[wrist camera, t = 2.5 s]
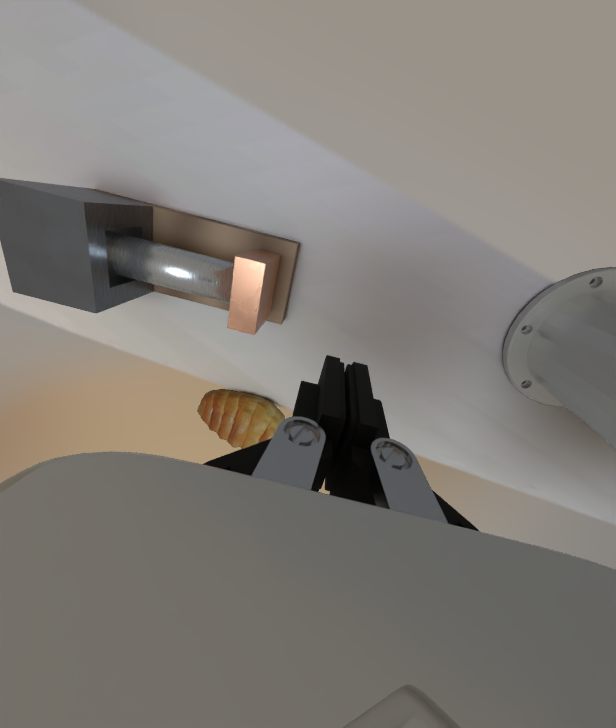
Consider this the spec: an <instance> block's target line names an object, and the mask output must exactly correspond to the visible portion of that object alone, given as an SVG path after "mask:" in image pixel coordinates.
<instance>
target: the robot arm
mask: <svg viewBox="0 0 616 728" xmlns="http://www.w3.org/2000/svg"><path fill="white" fill-rule="evenodd" d="M503 365H504V368H505V372H506V374H507V376H508V378H509V379H510V381H511V383H512V384H513V385H514V386H515V387H516V388H517V389H518V390H519V391H520V392H521V393H523V394H524V395H525V396H527V397H528V398H530V399H532V400H534V401H536V402H538V403H542V404H546V405H550V406H558V407H567V408H568V409H569V410H570V411H571V412H573V413H574V414H575V415H576V416H577V417H578V418H580V419H581V420H582V421H583V422H584V423H586V424H587V425H588V426H589V427H590V428H591V429H593V430H594V431H595V432H596V433H597V434H598V435H600V436H601V437H602V438H603V439H604V440H605V441H607V442H608V443H609V444H610V445H611V446H613V447H614V448H615V449H616V267H609V268H599V269H592V270H589V271H585V272H582V273H578V274H575V275H573V276H570V277H568V278H566V279H564V280H561V281H559V282H557V283H556V284H554V285H552V286H551V287H549V288H548V289H546V290H544V291H543V292H542V293H540V294H539V295H538V296H537V297H536V298H534V299H533V300H532V301H531V302H530V303H529V304H528V305H527V306H526V307H525V308H524V309H523V310H522V312H521V313H520V314H519V315H518V317H517V318H516V320H515V321H514V323H513V324H512V326H511V327H510V330H509V332H508V335H507V337H506V339H505V344H504V349H503ZM324 479H325V490H327V491H330V495H328V494H324V493H320V492H318V491H319V489H321V487H322V485H323V482H324ZM0 728H616V570H615V569H612V568H609V567H607V566H604V565H601V564H598V563H595V562H592V561H589V560H586V559H582V558H579V557H576V556H572V555H568V554H565V553H561V552H558V551H554V550H550V549H547V548H543V547H539V546H535V545H531V544H527V543H523V542H519V541H515V540H511V539H507V538H503V537H499V536H495V535H491V534H487V533H483V532H480V531H479V530H478V529H477V528H476V527H474V526H473V525H472V524H471V523H470V522H469V521H467V520H466V519H465V518H464V517H463V516H462V515H460V514H459V513H458V512H457V511H456V510H455V509H453V508H452V507H451V506H450V505H449V504H448V503H447V502H445V501H444V500H443V499H442V498H441V497H440V496H438V495H437V494H436V493H435V492H434V491H433V490H432V489H431V487H430V485H429V483H428V481H427V479H426V477H425V475H424V473H423V471H422V469H421V467H420V465H419V463H418V461H417V459H416V457H415V456H414V454H413V453H412V451H411V450H409V449H408V448H407V447H406V446H405V445H403V444H402V443H400V442H398V441H396V440H393V439H390V437H389V433H388V428H387V424H386V420H385V415H384V411H383V407H382V403H381V401H380V400H377V399H374V398H373V393H372V388H371V382H370V377H369V372H368V366H367V365H364V364H360V363H356V362H353V364H352V365H350V364H348V365H347V367H346V370H345V373H344V363H342V362H340V358H336V357H332V356H329V355H327V356H326V358H325V362H324V365H323V368H322V372H321V375H320V379H319V382H318V385H317V384H313V383H309V382H305V381H301V384H300V388H299V392H298V396H297V400H296V404H295V408H294V412H293V416H292V417H289V418H287V419H285V420H283V421H282V422H281V423H280V425H279V427H278V428H277V430H276V432H275V434H274V436H273V437H272V438H271V439H268V440H265V441H263V442H260V443H257V444H254V445H252V446H249V447H246V448H244V449H241V450H238V451H235V452H233V453H230V454H227V455H224V456H222V457H219V458H216V459H214V460H211V461H208V462H206V463H204V464H198V463H193V462H188V461H183V460H179V459H174V458H169V457H164V456H157V455H151V454H143V453H131V452H96V453H82V454H75V455H69V456H63V457H59V458H54V459H51V460H47V461H45V462H41V463H39V464H36V465H34V466H32V467H30V468H27V469H25V470H23V471H21V472H19V473H17V474H16V475H14V476H12V477H10V478H8V479H7V480H5V481H3V482H2V483H0Z"/></svg>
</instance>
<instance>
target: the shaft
mask: <svg viewBox="0 0 616 728" xmlns="http://www.w3.org/2000/svg"><path fill="white" fill-rule="evenodd" d="M105 239H106V251H107V262H108V272H109V273H113V274H117V275H121V276H125V277H128V278H132V279H136V280H140V281H144V282H148V283H151V284H155V285H159V286H163V287H167V288H171V289H175V290H178V291H182V292H186V293H190V294H194V295H198V296H201V297H205V298H209V299H213V300H217V301H221V302H224V303H228V304H230V308H229V317H228V327H227V328H229V329H233V330H237V331H241V332H245V333H249V334H253V335H255V334H256V332H257V331H258V330H259V328H260V327H261V326H262V325H263V323H264V322H265V321H266V319H267V318H268V317H269V316H270V313H271V307H272V302H273V296H274V290H275V285H276V279H277V274H278V268H279V262H280V257H281V255H278V254H274V253H270V252H266V251H263V250H259V249H254V250H251V251H248V252H246V253H243V254H240V255H237V256H235V262H234V263H232V262H229V261H225V260H221V259H217V258H213V257H209V256H206V255H202V254H198V253H194V252H190V251H186V250H183V249H179V248H175V247H171V246H167V245H163V244H159V243H156V242H152V241H148V240H144V239H140V238H136V237H133V236H129V235H125V234H121V233H117V232H113V231H110V230H106V229H105Z"/></svg>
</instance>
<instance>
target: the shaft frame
mask: <svg viewBox="0 0 616 728" xmlns="http://www.w3.org/2000/svg"><path fill="white" fill-rule="evenodd" d="M105 229H106V230H110V231H113V232H117V233H121V234H125V235H129V236H133V237H136V238H140V239H144V240H148V241H152V242H156V243H159V244H163V245H167V246H171V247H175V248H179V249H183V250H186V251H190V252H194V253H198V254H202V255H206V256H209V257H213V258H217V259H221V260H225V261H229V262H232V263H234V262H235V256H237V255H240V254H243V253H246V252H248V251H251V250H254V249H259V250H263V251H266V252H270V253H274V254H278V255H281V257H280V262H279V268H278V274H277V279H276V285H275V290H274V296H273V302H272V307H271V313H270V316H269V317H268V318H267V319H266V320H267V321H270V322H274V323H278V324H282V323H283V321H284V319H285V314H286V309H287V304H288V299H289V295H290V290H291V285H292V280H293V275H294V270H295V265H296V260H297V255H298V250H299V245H300V243H299V242H295V241H291V240H287V239H284V238H280V237H276V236H272V235H268V234H264V233H261V232H257V231H253V230H249V229H245V228H241V227H238V226H234V225H230V224H226V223H222V222H218V221H215V220H211V219H207V218H203V217H199V216H196V215H192V214H188V213H184V212H180V211H176V210H173V209H169V208H165V207H161V206H157V205H153V204H150V203H146V202H142V201H138V200H134V199H130V198H127V197H123V196H119V195H115V194H111V193H107V192H104V191H100V190H96V189H89V188H81V187H72V186H64V185H55V184H47V183H38V182H30V181H21V180H13V179H4V178H0V241H1V245H2V249H3V253H4V257H5V261H6V265H7V270H8V274H9V278H10V282H11V286H12V290H13V292H16V293H19V294H23V295H27V296H31V297H35V298H39V299H42V300H46V301H50V302H54V303H58V304H62V305H66V306H69V307H73V308H77V309H81V310H85V311H89V312H93V313H99V312H101V311H104V310H107V309H109V308H112V307H114V306H117V305H120V304H122V303H125V302H127V301H130V300H133V299H135V298H138V297H141V296H143V295H146V294H148V293H151V292H154V291H155V292H159V293H163V294H167V295H170V296H174V297H178V298H182V299H186V300H190V301H194V302H197V303H201V304H205V305H209V306H213V307H217V308H220V309H224V310H228V311H229V308H230V304H228V303H224V302H221V301H217V300H213V299H209V298H205V297H201V296H198V295H194V294H190V293H186V292H182V291H178V290H175V289H171V288H167V287H163V286H159V285H155V284H151V283H148V282H144V281H140V280H136V279H132V278H128V277H125V276H121V275H117V274H113V273H109V272H108V262H107V251H106V239H105Z"/></svg>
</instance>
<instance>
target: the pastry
mask: <svg viewBox="0 0 616 728" xmlns="http://www.w3.org/2000/svg"><path fill="white" fill-rule="evenodd" d="M197 411H198V413H199V415H200V416H201V418H202V420H203V421H204V422H205V423H206V424H207V425H208V426H209V429H210V430H212V431H214V432H216V433H217V434H218V436H219V438H220V439H224V440H227V441H228V443H229V444H230V445H231V446H232V447H241V448H242V449H244V448H246V447H249V446H252V445H254V444H257V443H260V442H263V441H265V440H268V439H271V438H272V437H273V436H274V434H275V432H276V430H277V428H278V427H279V425H280V423H281V422H282V421H283V420H285V417H284V415H283V414H282V412H281V411H280V410H279V409H278V408H277V407H276V406H275V405H274V404H273V403H272V402H271V401H268V400H265V399H263V398H262V397H260V396H256V395H253V394H248V393H244V392H238V391H234V390H226V389H219V390H212V391H209V392H208V393H206V394H205V395H204V397H203V399H202V401H201V403H200V405H199V407H198V410H197Z"/></svg>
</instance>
